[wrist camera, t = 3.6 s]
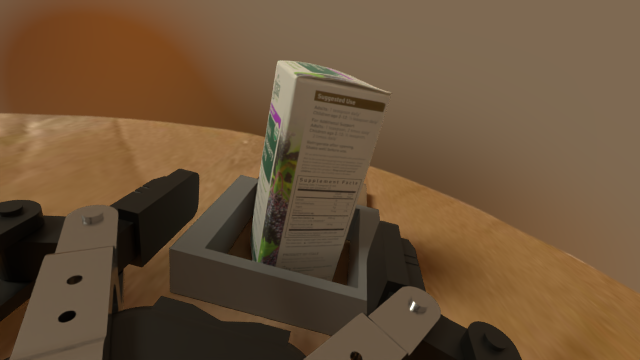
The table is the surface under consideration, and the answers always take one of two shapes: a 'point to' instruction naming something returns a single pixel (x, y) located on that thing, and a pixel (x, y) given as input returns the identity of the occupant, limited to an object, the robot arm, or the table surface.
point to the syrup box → (313, 166)
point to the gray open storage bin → (267, 268)
